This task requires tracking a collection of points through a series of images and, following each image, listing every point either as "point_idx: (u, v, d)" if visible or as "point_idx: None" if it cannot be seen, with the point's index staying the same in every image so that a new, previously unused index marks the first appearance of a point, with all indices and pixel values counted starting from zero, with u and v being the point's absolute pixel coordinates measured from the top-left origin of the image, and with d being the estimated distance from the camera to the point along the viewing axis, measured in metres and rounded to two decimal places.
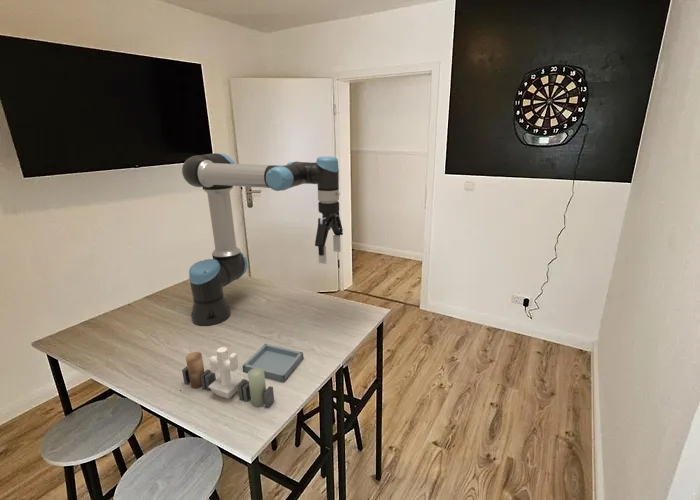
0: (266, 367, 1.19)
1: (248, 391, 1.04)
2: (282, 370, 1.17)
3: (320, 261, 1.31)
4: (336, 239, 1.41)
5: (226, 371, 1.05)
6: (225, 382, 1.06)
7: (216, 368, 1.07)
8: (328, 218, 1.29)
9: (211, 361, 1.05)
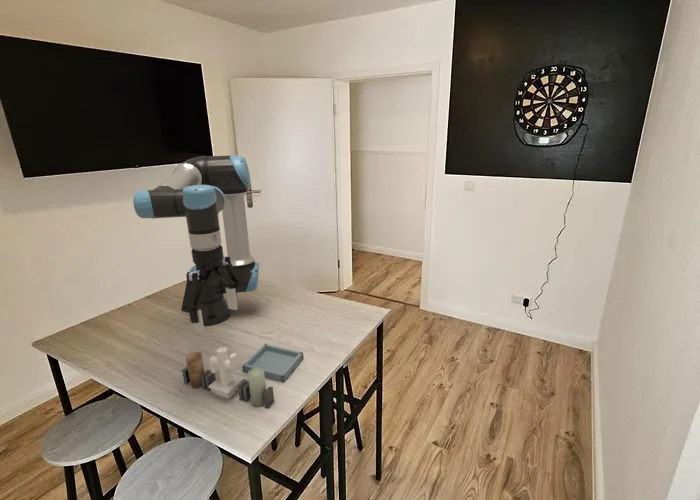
0: (266, 367, 1.19)
1: (248, 391, 1.04)
2: (282, 370, 1.17)
3: (195, 330, 0.94)
4: (230, 293, 1.05)
5: (226, 371, 1.05)
6: (225, 382, 1.06)
7: (216, 368, 1.07)
8: (204, 271, 0.92)
9: (211, 361, 1.05)
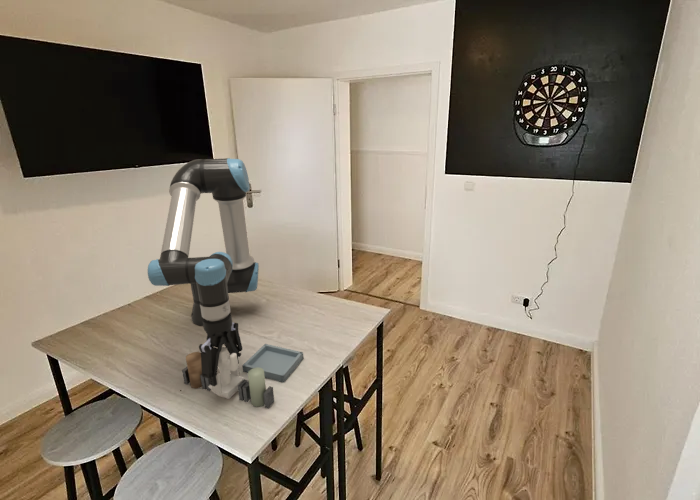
0: (266, 367, 1.19)
1: (248, 391, 1.04)
2: (282, 370, 1.17)
3: (214, 390, 1.04)
4: None
5: (226, 371, 1.05)
6: (225, 382, 1.06)
7: None
8: (214, 338, 0.99)
9: None
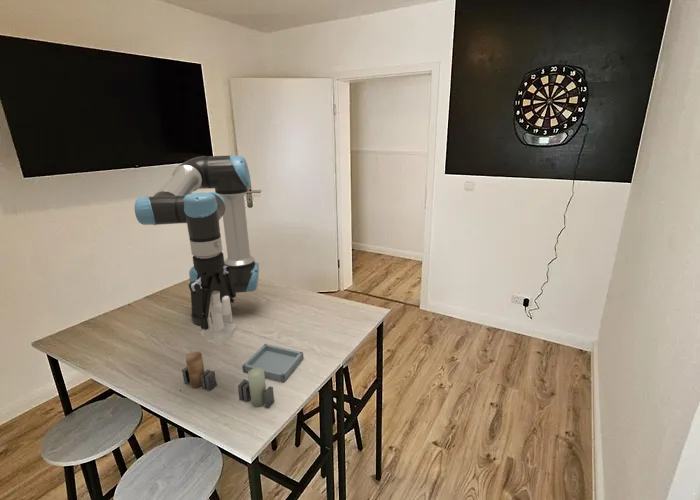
0: (266, 367, 1.19)
1: (248, 391, 1.04)
2: (282, 370, 1.17)
3: (205, 336, 0.98)
4: None
5: (218, 316, 0.99)
6: (217, 328, 1.00)
7: None
8: (205, 278, 0.93)
9: None
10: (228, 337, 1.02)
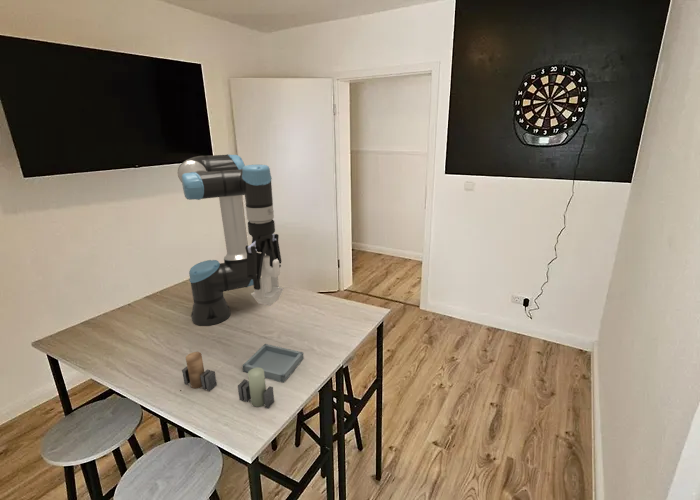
0: (266, 367, 1.19)
1: (248, 391, 1.04)
2: (282, 370, 1.17)
3: (257, 296, 1.08)
4: None
5: (268, 278, 1.09)
6: (267, 289, 1.10)
7: None
8: (259, 242, 1.03)
9: None
10: (276, 299, 1.12)
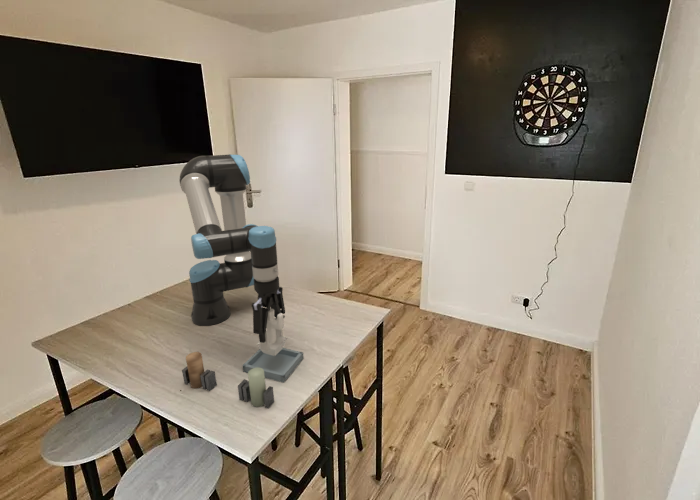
0: (266, 367, 1.19)
1: (248, 391, 1.04)
2: (282, 370, 1.17)
3: (262, 347, 1.14)
4: None
5: (272, 330, 1.15)
6: (271, 340, 1.16)
7: None
8: (264, 298, 1.09)
9: None
10: (280, 348, 1.18)
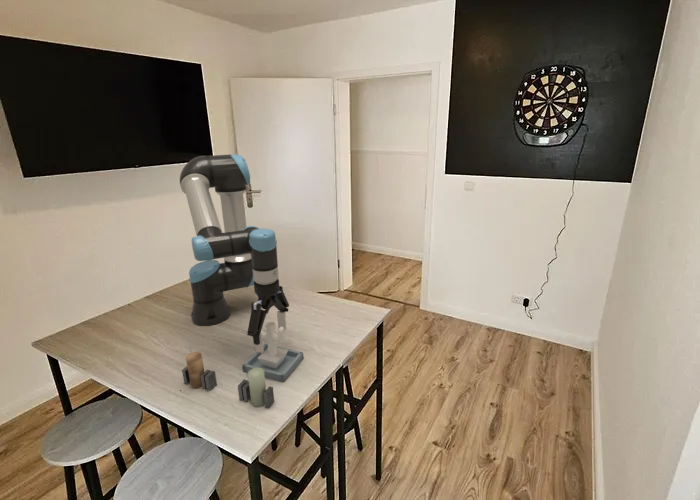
0: (266, 367, 1.19)
1: (248, 391, 1.04)
2: (282, 370, 1.17)
3: (256, 349, 1.12)
4: (280, 316, 1.22)
5: (273, 343, 1.17)
6: (273, 354, 1.18)
7: (264, 342, 1.19)
8: (265, 301, 1.10)
9: None
10: (281, 361, 1.20)
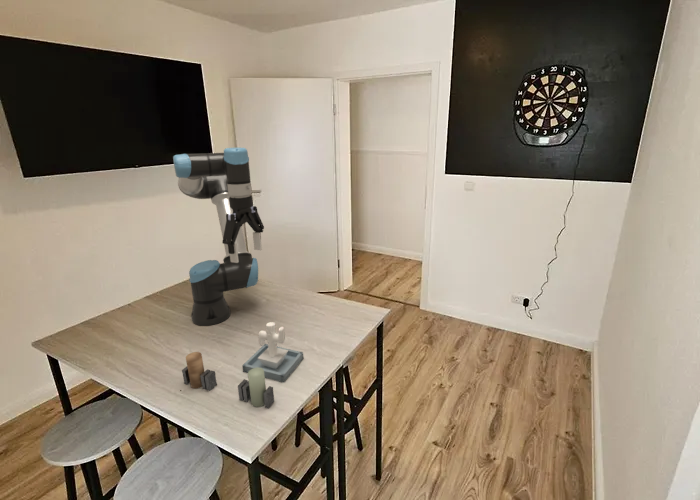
0: (266, 367, 1.19)
1: (248, 391, 1.04)
2: (282, 370, 1.17)
3: (232, 260, 1.22)
4: (256, 237, 1.32)
5: (273, 343, 1.17)
6: (273, 354, 1.18)
7: (264, 342, 1.19)
8: (239, 214, 1.20)
9: (260, 335, 1.17)
10: (281, 361, 1.20)
